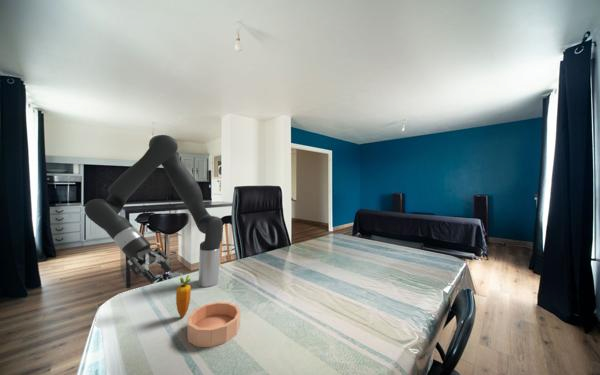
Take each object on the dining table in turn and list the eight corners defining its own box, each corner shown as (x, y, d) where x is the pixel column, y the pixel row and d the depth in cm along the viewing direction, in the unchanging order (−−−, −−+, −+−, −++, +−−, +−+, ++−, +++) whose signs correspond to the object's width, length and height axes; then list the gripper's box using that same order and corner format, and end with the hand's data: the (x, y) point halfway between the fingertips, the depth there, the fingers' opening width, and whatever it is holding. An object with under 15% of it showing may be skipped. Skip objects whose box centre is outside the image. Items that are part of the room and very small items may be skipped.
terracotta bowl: (201, 315, 80) (202, 301, 80) (244, 316, 80) (245, 303, 80) (176, 345, 64) (177, 328, 64) (230, 347, 64) (231, 330, 64)
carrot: (186, 312, 82) (188, 272, 82) (192, 317, 78) (194, 275, 79) (172, 317, 78) (174, 275, 78) (177, 323, 75) (179, 279, 75)
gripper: (123, 239, 72) (156, 276, 71) (153, 231, 86) (180, 261, 86) (107, 255, 72) (139, 291, 71) (139, 244, 86) (166, 274, 86)
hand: (162, 275), depth 78 cm, fingers open, 8 cm apart
